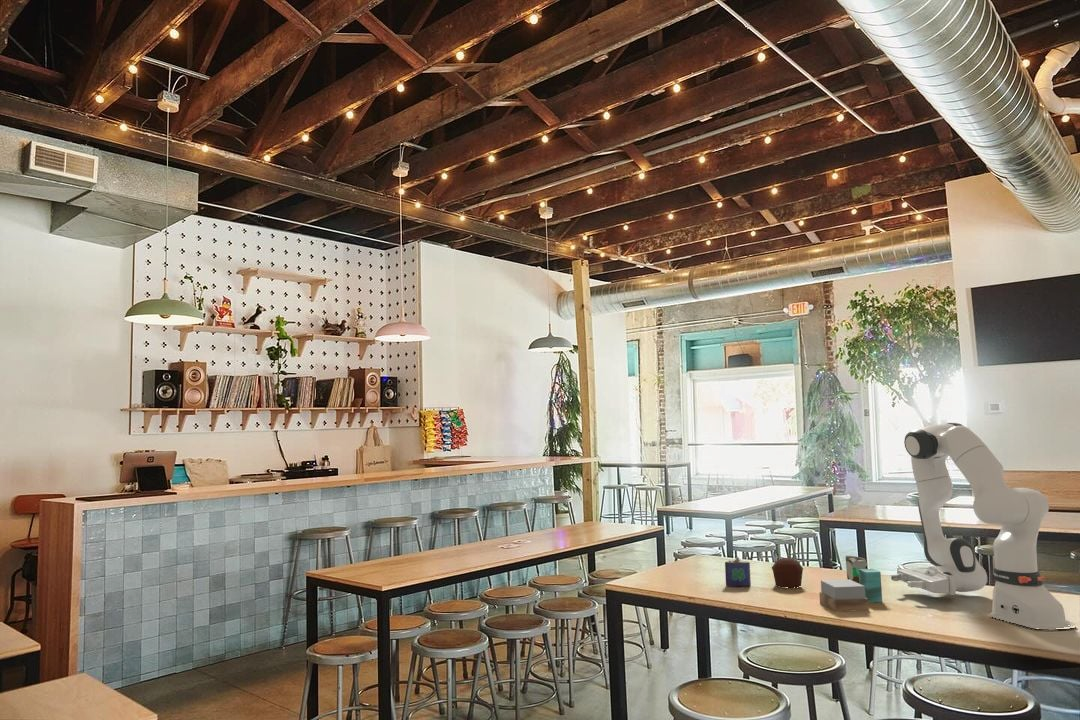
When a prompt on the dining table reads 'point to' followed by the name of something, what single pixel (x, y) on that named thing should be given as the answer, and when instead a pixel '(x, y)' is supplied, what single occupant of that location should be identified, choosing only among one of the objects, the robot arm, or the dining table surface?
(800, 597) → the dining table surface
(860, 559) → the food container
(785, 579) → the muffin
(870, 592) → the teal block
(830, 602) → the block
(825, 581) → the tower top
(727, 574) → the flask
